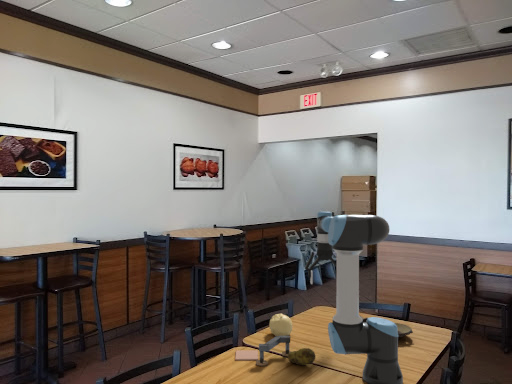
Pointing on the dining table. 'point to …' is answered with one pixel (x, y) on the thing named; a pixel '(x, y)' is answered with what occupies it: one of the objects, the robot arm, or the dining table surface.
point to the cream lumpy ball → (280, 325)
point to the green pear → (302, 356)
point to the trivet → (246, 355)
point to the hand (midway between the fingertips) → (324, 283)
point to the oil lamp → (402, 328)
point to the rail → (272, 344)
